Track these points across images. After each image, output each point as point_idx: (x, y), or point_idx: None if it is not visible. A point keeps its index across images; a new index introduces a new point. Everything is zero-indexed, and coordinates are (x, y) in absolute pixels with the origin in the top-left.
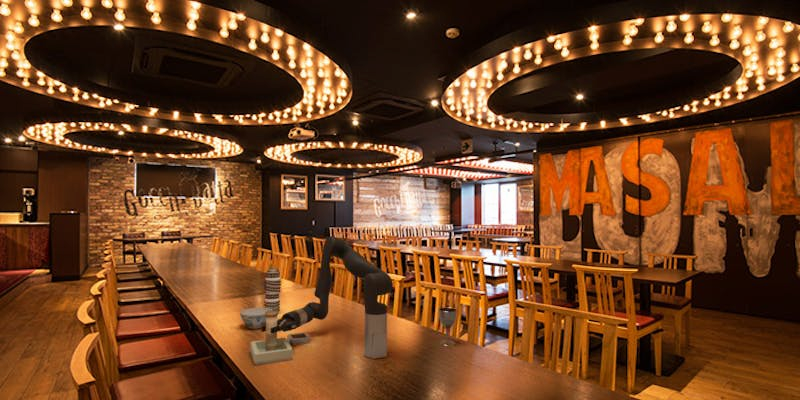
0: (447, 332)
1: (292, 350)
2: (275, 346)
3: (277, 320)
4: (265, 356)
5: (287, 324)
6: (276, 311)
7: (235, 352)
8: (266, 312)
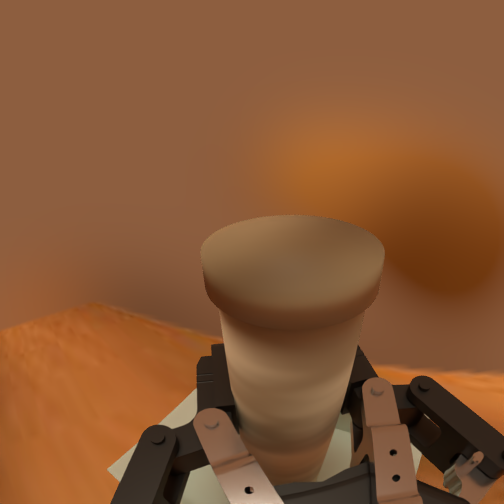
0: None
1: (109, 471)
2: None
3: (378, 475)
4: None
5: (147, 476)
6: (266, 274)
7: None
8: (324, 222)
